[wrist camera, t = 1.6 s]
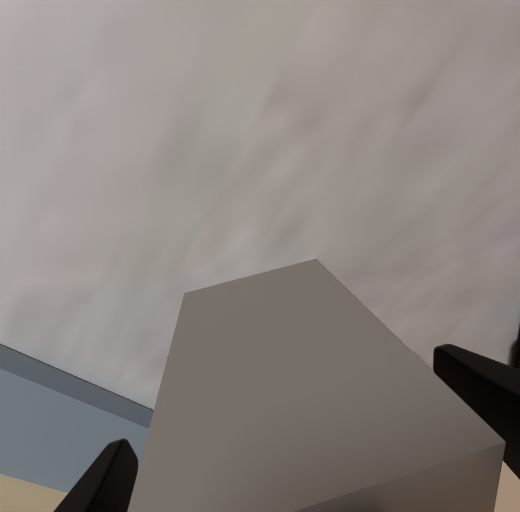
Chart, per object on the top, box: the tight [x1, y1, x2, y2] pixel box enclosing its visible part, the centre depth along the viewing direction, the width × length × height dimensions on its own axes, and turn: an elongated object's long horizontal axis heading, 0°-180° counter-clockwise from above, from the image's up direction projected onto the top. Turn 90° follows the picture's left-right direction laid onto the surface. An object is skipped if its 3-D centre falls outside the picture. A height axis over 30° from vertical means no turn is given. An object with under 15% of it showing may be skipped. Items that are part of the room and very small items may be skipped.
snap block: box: [127, 259, 506, 512], centre depth 7 cm, size 5×5×8 cm
